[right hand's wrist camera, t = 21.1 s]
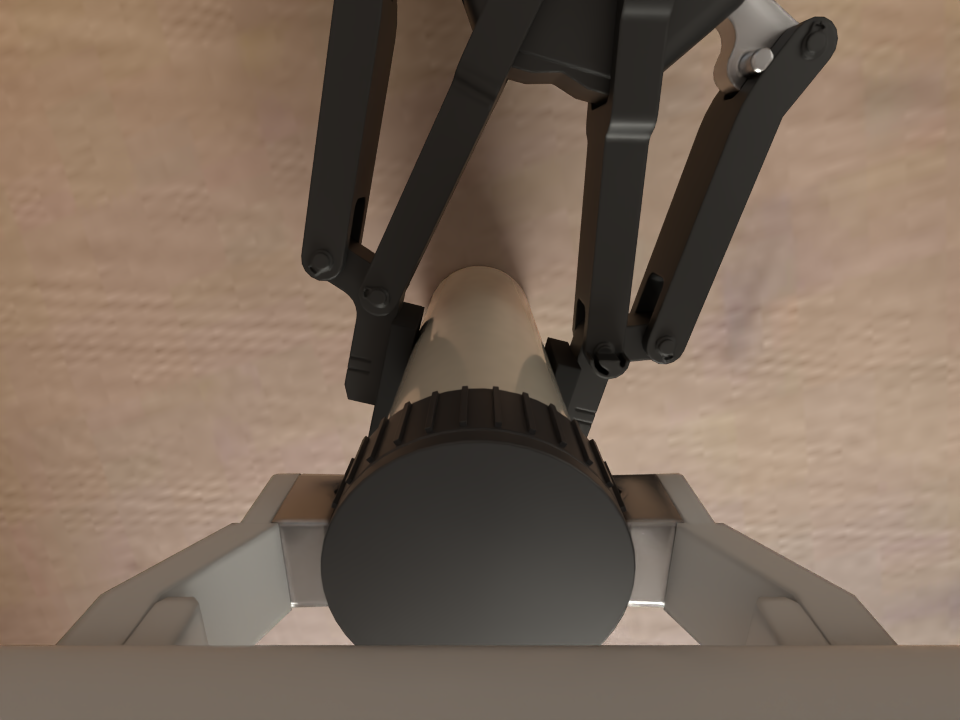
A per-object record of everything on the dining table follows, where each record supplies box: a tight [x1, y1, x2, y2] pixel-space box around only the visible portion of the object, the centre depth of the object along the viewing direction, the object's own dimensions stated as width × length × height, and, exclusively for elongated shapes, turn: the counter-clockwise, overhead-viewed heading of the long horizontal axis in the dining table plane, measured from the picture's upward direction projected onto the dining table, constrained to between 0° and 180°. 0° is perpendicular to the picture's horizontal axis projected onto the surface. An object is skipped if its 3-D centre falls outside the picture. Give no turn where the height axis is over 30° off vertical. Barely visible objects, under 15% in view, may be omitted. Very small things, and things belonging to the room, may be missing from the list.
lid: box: [321, 386, 636, 645], centre depth 9 cm, size 5×5×2 cm
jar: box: [387, 266, 571, 421], centre depth 16 cm, size 4×4×15 cm
